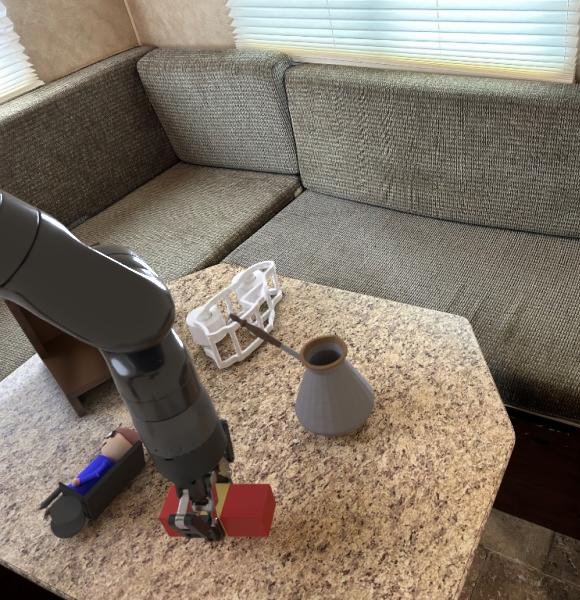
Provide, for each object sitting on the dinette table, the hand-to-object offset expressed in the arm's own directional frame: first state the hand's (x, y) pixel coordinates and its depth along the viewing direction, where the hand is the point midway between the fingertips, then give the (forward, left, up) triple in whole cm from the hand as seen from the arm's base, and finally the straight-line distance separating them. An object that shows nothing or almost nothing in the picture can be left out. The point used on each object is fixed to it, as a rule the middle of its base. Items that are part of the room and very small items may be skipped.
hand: (222, 517), depth 72 cm
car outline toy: (+22, +33, -4) cm, 40 cm away
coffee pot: (+19, +10, -4) cm, 22 cm away
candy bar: (0, 0, -1) cm, 1 cm away
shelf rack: (+1, +42, -4) cm, 42 cm away
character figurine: (-9, +17, -4) cm, 20 cm away
